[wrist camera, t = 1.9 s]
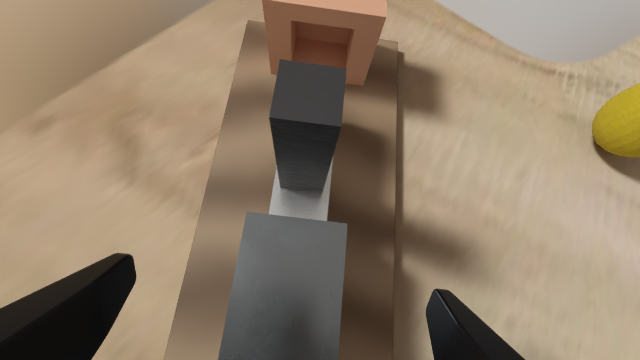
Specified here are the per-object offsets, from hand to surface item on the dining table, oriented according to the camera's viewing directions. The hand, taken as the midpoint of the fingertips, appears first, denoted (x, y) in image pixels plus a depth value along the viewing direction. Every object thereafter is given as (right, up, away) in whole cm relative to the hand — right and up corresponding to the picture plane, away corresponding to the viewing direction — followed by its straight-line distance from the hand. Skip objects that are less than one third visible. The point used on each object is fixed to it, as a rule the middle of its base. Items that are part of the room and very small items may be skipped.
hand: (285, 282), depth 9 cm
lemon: (+26, +6, +18) cm, 33 cm away
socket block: (+1, +14, +17) cm, 22 cm away
